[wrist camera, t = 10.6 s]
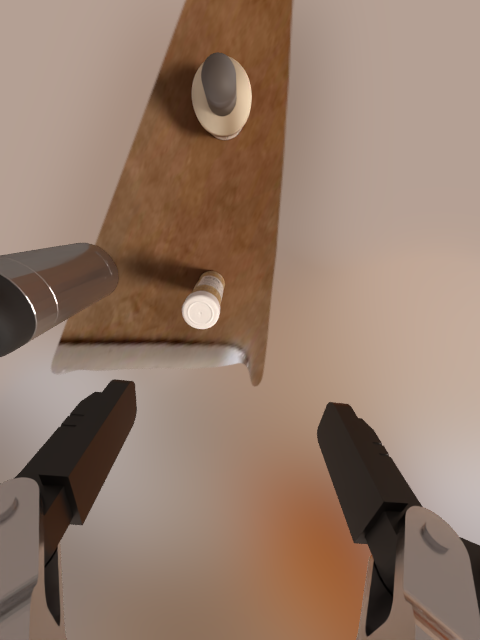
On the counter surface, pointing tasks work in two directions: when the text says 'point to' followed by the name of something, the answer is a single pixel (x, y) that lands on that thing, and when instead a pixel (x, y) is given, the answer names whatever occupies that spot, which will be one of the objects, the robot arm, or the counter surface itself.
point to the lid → (221, 95)
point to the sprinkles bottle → (204, 301)
